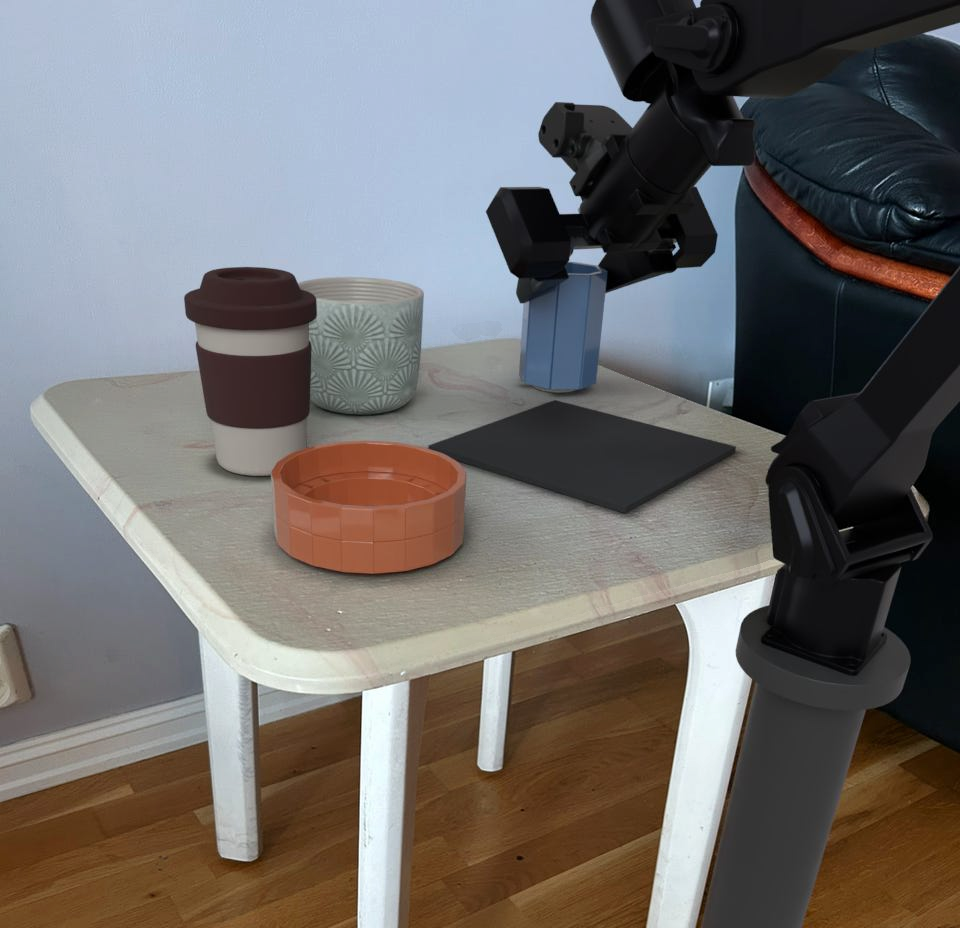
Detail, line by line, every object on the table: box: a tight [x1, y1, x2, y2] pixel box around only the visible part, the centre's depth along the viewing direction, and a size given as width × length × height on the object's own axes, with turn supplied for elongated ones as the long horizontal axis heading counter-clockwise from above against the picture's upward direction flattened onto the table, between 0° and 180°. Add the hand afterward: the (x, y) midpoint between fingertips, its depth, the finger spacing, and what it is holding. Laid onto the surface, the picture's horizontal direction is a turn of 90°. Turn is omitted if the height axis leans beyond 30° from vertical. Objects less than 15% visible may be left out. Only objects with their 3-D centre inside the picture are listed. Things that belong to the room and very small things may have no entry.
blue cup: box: [518, 261, 608, 391], centre depth 81 cm, size 6×6×9 cm
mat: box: [427, 399, 737, 514], centre depth 88 cm, size 20×20×1 cm
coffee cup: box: [183, 266, 317, 477], centre depth 78 cm, size 10×10×15 cm
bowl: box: [270, 439, 467, 575], centre depth 69 cm, size 13×13×5 cm
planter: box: [297, 276, 425, 416], centre depth 95 cm, size 12×12×11 cm
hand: (554, 295), depth 81 cm, fingers closed on blue cup, 6 cm apart
